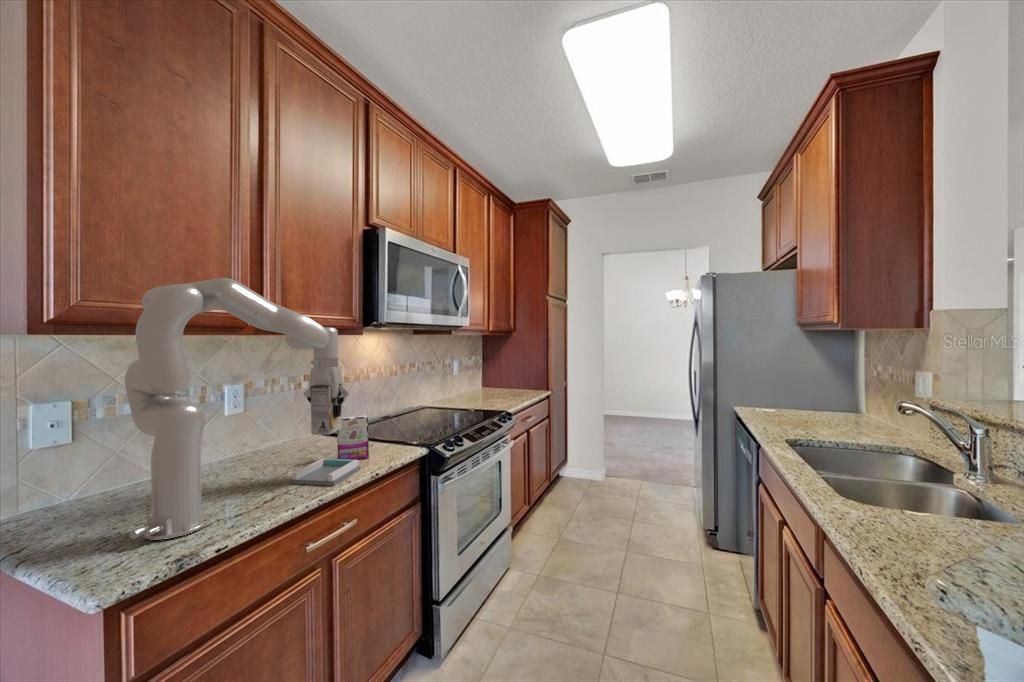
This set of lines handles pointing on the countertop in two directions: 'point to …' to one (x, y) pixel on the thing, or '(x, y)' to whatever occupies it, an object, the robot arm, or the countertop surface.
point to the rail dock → (325, 472)
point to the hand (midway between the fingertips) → (326, 416)
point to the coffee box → (323, 411)
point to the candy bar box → (353, 438)
